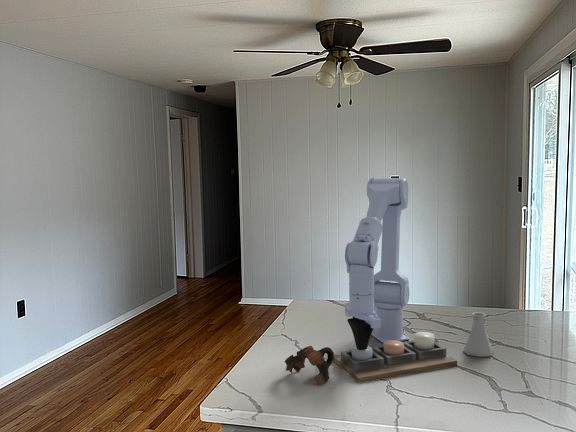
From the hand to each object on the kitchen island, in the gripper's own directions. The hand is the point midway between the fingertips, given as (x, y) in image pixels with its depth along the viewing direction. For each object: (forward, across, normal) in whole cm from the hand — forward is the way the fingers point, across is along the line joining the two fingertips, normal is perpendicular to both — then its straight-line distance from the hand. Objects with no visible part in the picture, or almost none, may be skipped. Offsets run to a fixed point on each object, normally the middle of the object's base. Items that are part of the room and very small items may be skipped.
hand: (361, 348), depth 123 cm
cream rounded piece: (+2, 0, +17) cm, 17 cm away
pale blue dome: (+3, 0, 0) cm, 3 cm away
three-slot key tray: (+5, 0, +8) cm, 10 cm away
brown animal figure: (+5, 0, -13) cm, 14 cm away
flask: (+5, +2, +32) cm, 32 cm away
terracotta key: (+3, 0, +8) cm, 9 cm away
